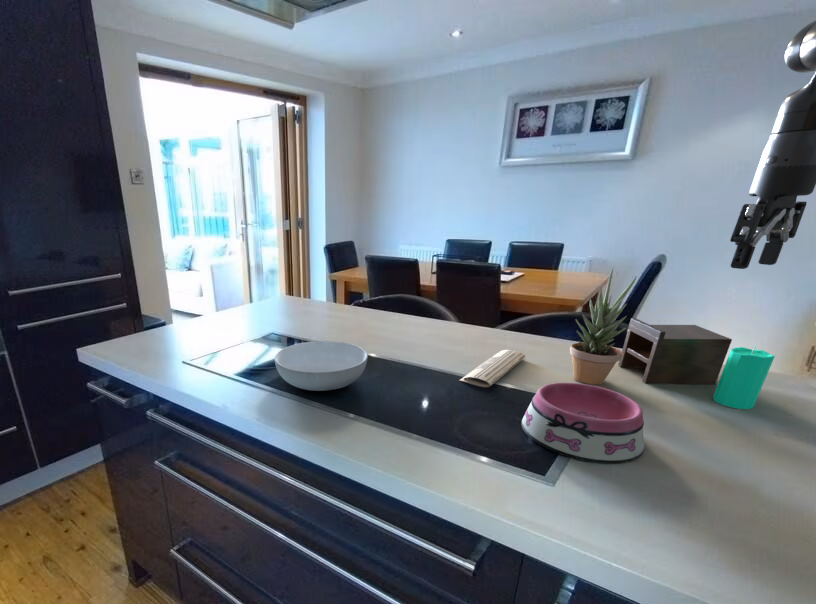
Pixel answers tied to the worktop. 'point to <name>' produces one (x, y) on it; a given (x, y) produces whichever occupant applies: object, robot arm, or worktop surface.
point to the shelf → (674, 353)
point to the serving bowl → (321, 364)
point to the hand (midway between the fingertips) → (752, 266)
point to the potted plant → (598, 340)
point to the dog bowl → (585, 423)
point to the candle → (742, 377)
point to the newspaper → (493, 368)
